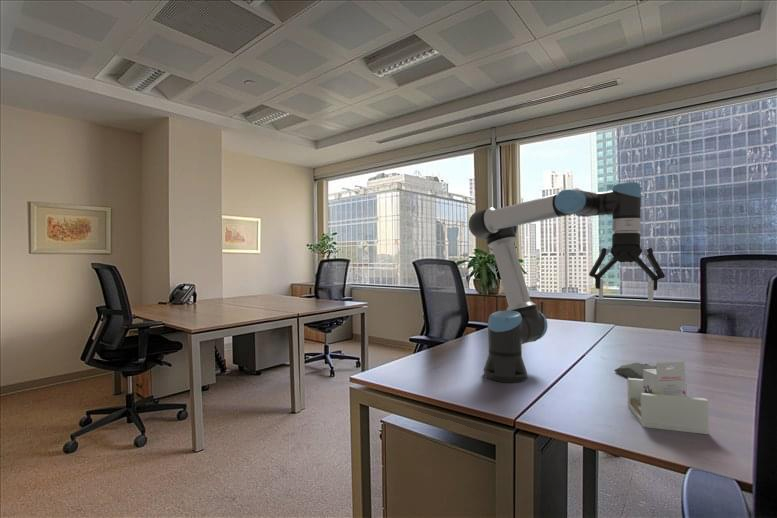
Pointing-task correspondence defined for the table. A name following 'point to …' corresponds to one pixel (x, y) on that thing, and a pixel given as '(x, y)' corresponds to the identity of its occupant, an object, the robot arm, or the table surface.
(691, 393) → the table surface
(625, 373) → the stone
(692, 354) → the table surface
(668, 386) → the ink box
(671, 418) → the rack
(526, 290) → the robot arm
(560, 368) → the table surface
